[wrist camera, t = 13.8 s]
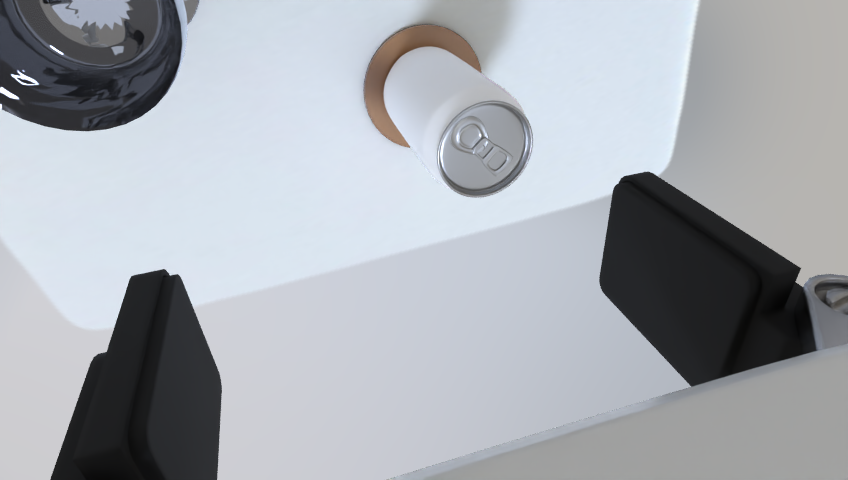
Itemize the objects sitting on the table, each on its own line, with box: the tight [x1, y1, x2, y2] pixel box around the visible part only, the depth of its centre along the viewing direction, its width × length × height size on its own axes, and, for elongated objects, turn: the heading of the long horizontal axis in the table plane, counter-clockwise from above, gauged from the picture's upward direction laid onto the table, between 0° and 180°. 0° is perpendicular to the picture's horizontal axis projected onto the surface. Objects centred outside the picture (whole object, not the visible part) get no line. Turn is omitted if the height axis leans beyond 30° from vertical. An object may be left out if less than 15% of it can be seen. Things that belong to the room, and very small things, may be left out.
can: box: [384, 46, 533, 197], centre depth 33 cm, size 6×6×12 cm
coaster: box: [364, 25, 481, 148], centre depth 38 cm, size 9×9×1 cm
